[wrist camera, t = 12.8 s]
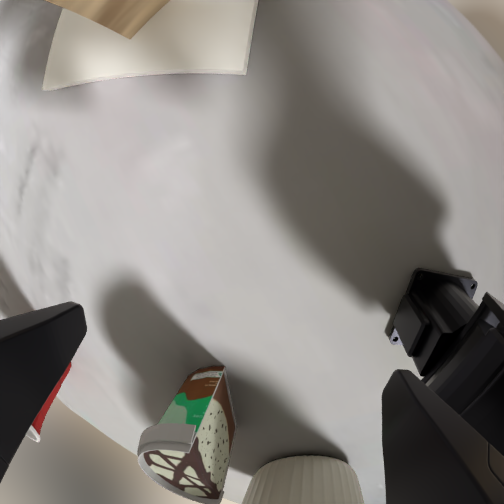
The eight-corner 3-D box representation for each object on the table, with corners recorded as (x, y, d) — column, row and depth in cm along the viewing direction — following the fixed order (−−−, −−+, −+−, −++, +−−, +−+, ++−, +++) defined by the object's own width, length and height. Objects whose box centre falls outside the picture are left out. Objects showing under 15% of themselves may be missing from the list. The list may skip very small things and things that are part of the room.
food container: (158, 347, 24) (106, 427, 15) (222, 353, 23) (186, 448, 14) (187, 427, 28) (159, 495, 19) (238, 433, 27) (219, 508, 18)
